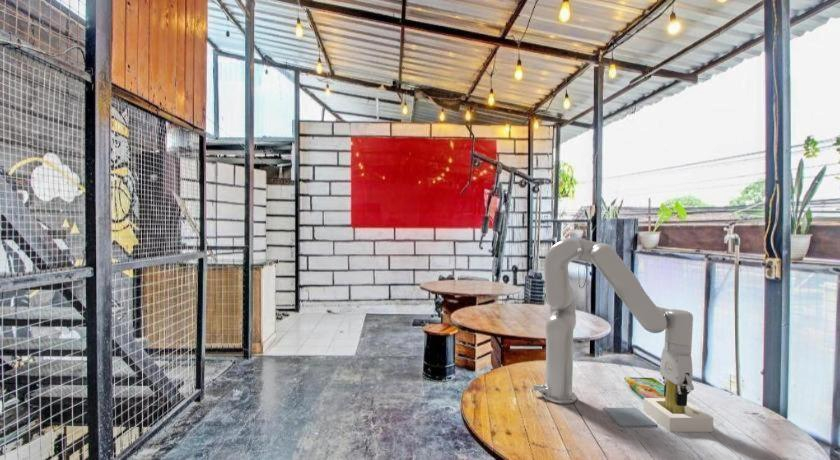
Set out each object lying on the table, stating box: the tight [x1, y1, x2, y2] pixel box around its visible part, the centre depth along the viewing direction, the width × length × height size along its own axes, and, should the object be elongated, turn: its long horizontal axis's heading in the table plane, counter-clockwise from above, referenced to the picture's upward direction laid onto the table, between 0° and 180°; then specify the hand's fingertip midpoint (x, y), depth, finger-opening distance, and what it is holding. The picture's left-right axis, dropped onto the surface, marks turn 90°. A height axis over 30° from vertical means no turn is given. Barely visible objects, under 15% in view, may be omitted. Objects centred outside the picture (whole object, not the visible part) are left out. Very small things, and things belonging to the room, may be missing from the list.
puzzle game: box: [623, 376, 665, 401], centre depth 151 cm, size 12×5×20 cm
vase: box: [664, 380, 685, 414], centre depth 133 cm, size 6×6×14 cm
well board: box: [643, 398, 714, 433], centre depth 132 cm, size 14×14×4 cm
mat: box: [602, 407, 658, 428], centre depth 134 cm, size 12×12×1 cm
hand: (675, 400), depth 133 cm, fingers closed on vase, 5 cm apart
